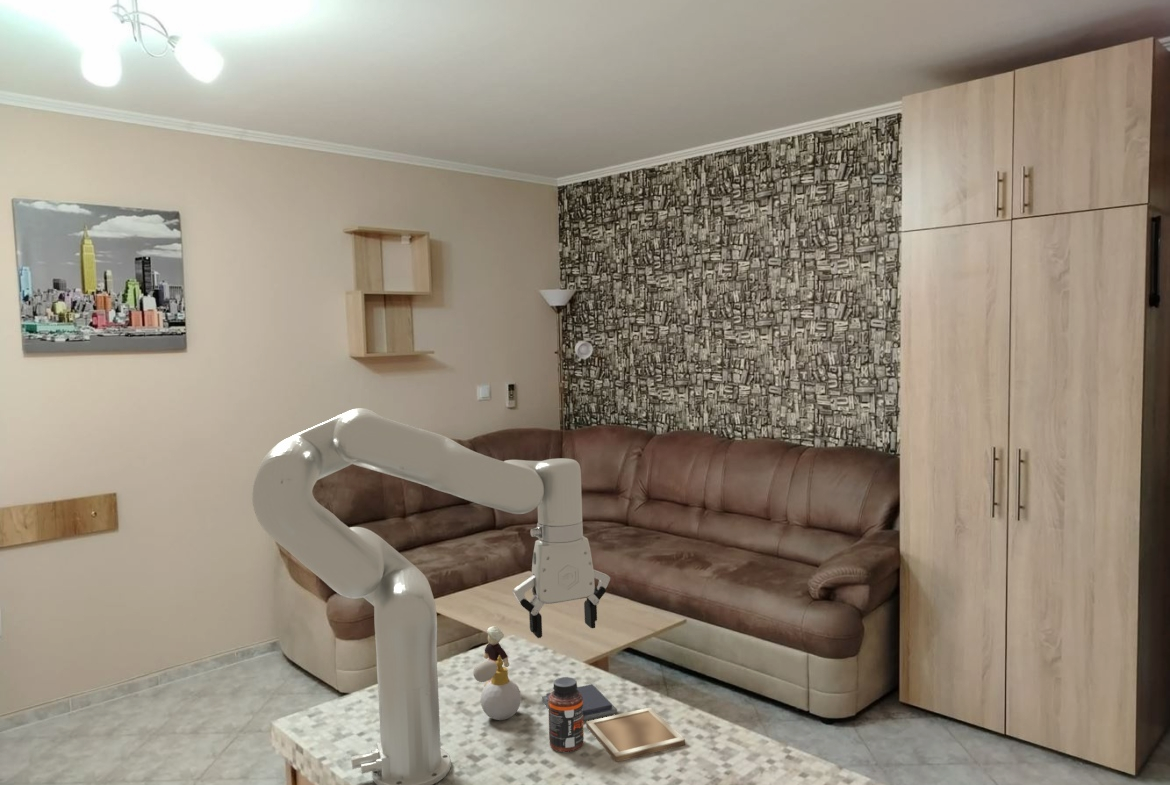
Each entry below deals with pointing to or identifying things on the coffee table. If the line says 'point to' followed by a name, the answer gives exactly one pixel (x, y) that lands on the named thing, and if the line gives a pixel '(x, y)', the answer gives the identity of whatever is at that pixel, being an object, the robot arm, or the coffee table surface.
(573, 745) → the supplement bottle
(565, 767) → the coffee table surface
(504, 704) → the perfume bottle
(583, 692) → the pad
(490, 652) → the grandmother figurine
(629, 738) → the framed board
